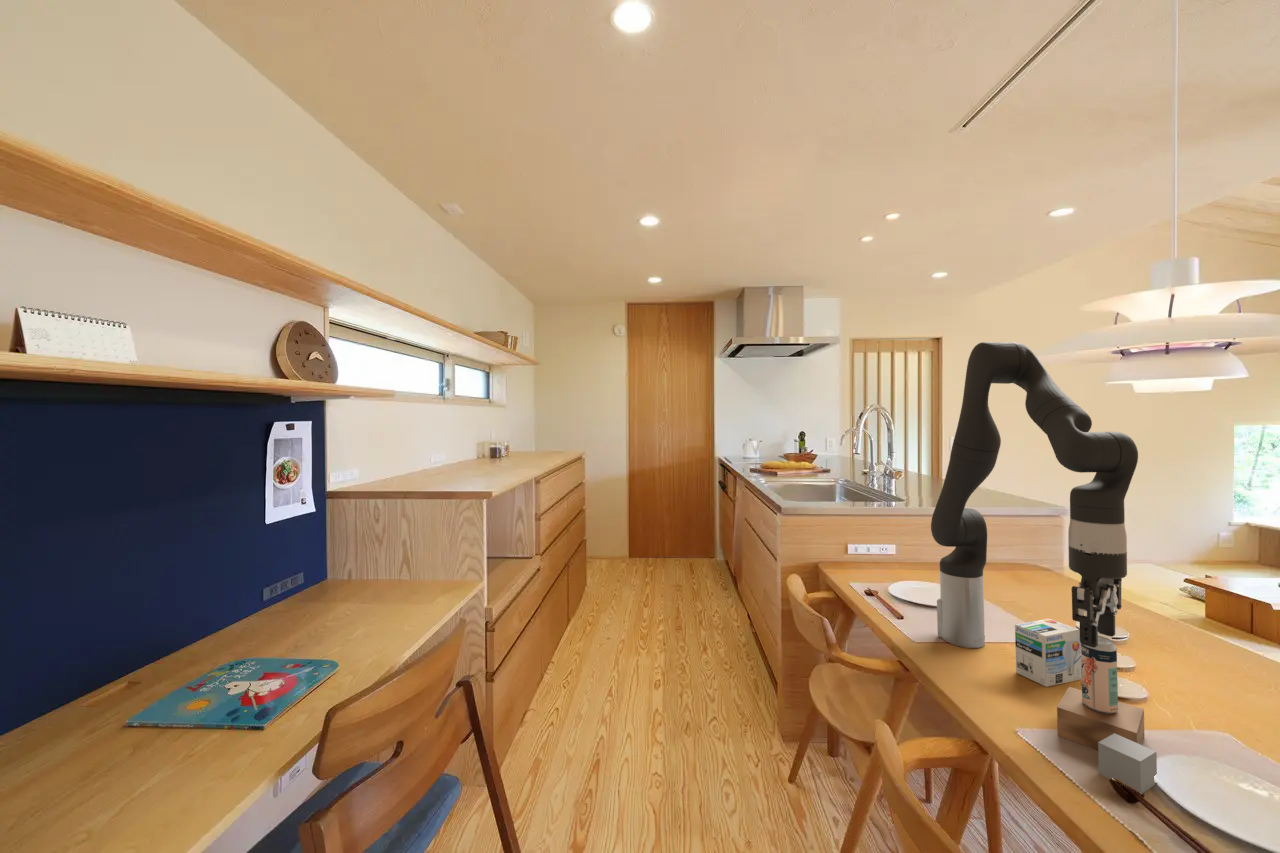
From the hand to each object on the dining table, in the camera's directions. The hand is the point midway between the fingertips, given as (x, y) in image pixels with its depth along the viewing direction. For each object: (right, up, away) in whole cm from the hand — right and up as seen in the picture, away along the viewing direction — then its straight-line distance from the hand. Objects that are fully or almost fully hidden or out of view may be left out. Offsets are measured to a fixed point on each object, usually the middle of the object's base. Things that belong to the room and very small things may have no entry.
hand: (1097, 639), depth 87 cm
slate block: (-5, -17, -10) cm, 21 cm away
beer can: (0, -12, 0) cm, 12 cm away
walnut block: (+1, -17, 0) cm, 17 cm away
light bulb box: (+8, -17, +21) cm, 28 cm away
